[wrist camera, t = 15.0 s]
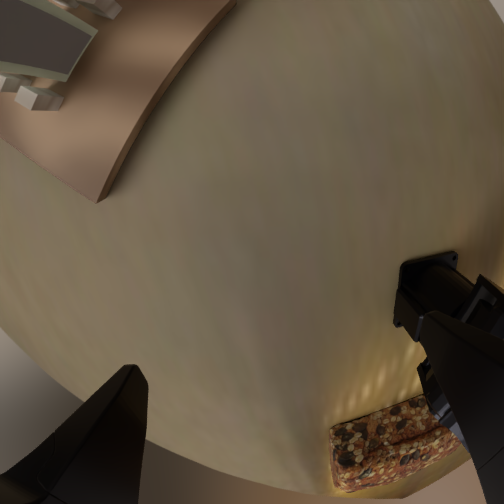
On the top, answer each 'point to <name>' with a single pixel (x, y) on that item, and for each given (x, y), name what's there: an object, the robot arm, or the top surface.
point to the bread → (387, 445)
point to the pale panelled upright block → (41, 39)
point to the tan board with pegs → (104, 87)
